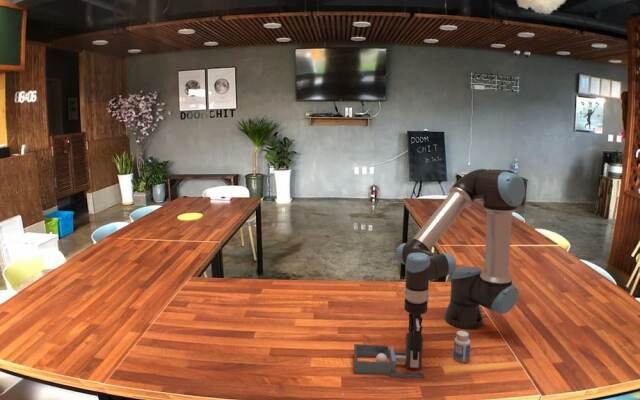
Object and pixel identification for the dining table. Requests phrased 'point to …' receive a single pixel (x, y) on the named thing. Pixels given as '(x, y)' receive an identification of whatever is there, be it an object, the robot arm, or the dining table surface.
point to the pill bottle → (462, 347)
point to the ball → (381, 358)
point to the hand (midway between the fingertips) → (413, 362)
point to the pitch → (378, 367)
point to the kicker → (406, 358)
